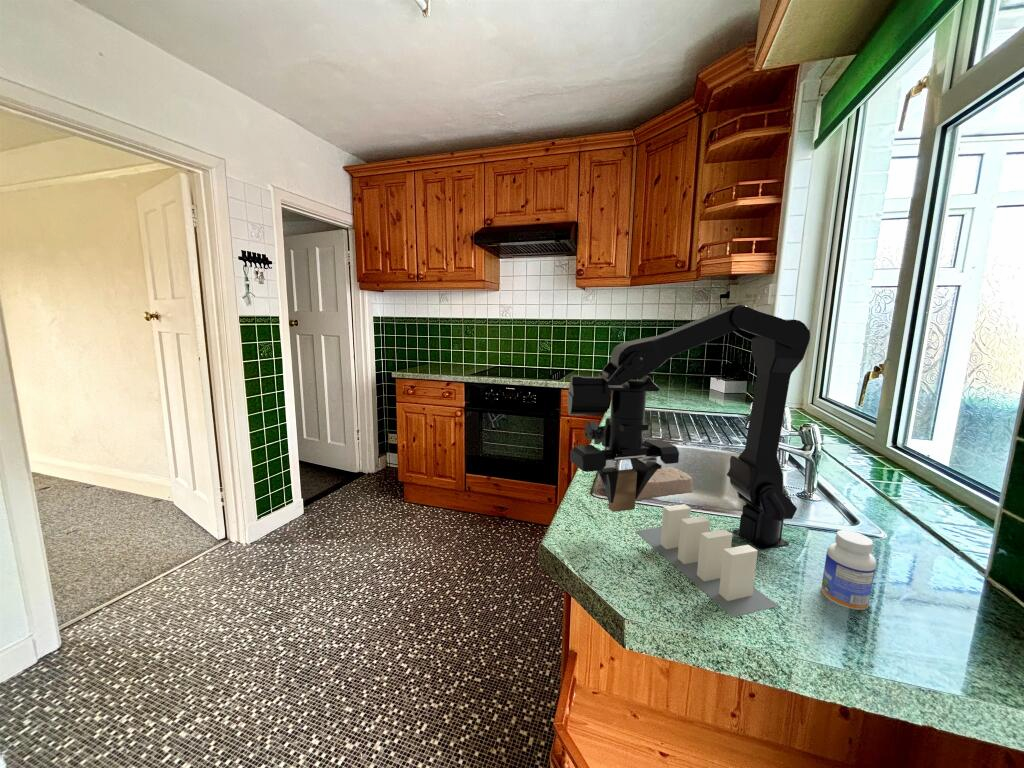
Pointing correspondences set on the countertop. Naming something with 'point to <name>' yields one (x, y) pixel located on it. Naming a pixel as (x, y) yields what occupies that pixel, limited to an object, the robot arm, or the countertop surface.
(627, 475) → the walnut domino
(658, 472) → the brick
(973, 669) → the countertop surface
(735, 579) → the tile
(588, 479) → the countertop surface
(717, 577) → the tile
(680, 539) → the tile
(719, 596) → the mat
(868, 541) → the pill bottle
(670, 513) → the tile
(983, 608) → the countertop surface
